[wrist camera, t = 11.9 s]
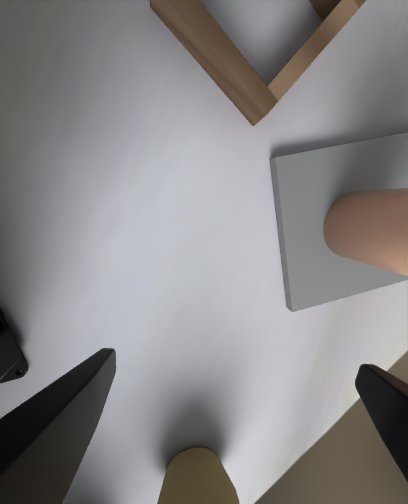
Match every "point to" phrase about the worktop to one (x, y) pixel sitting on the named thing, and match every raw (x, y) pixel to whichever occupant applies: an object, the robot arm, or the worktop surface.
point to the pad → (316, 208)
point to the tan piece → (370, 228)
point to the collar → (232, 61)
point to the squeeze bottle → (197, 480)
